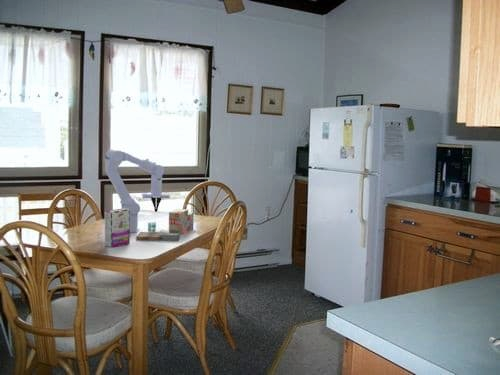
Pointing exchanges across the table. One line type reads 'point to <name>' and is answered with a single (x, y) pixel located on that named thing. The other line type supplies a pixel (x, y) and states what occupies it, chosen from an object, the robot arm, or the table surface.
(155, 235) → the board
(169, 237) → the tray
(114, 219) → the candy bar box
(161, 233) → the tile
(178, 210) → the stack of blocks
